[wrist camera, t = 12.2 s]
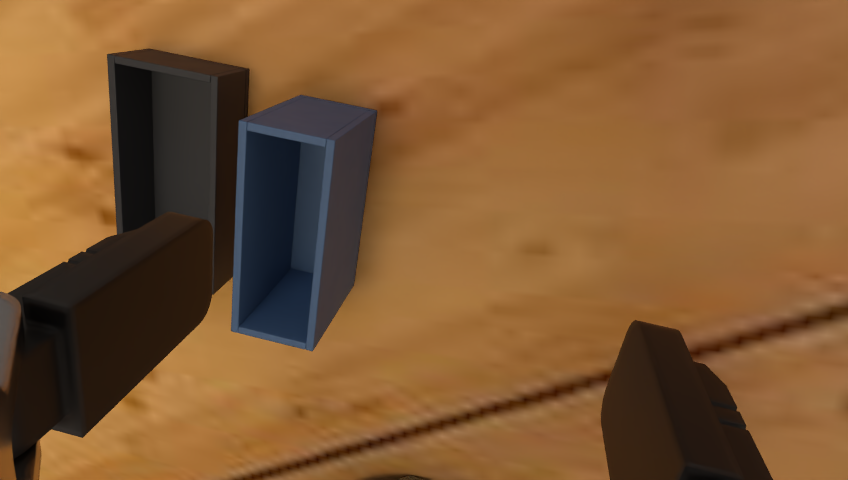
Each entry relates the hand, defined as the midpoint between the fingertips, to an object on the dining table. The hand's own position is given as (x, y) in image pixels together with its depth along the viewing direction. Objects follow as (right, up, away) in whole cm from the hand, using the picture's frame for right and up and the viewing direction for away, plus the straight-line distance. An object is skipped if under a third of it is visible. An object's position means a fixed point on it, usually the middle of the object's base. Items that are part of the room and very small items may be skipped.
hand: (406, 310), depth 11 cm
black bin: (-17, +7, +33) cm, 38 cm away
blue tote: (-7, +5, +32) cm, 33 cm away
